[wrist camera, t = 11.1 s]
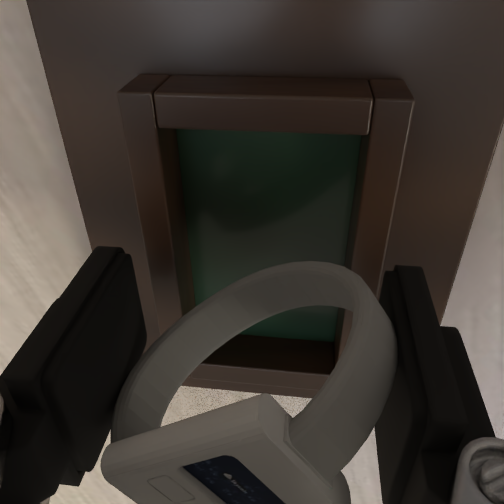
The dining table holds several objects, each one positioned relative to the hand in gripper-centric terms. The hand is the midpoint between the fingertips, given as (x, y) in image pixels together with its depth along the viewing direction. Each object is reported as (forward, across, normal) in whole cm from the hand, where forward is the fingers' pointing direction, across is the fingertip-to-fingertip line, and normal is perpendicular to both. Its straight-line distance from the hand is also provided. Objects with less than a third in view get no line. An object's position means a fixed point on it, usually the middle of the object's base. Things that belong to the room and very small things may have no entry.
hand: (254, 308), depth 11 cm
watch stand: (+4, 0, 0) cm, 4 cm away
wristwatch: (+1, 0, 0) cm, 1 cm away
